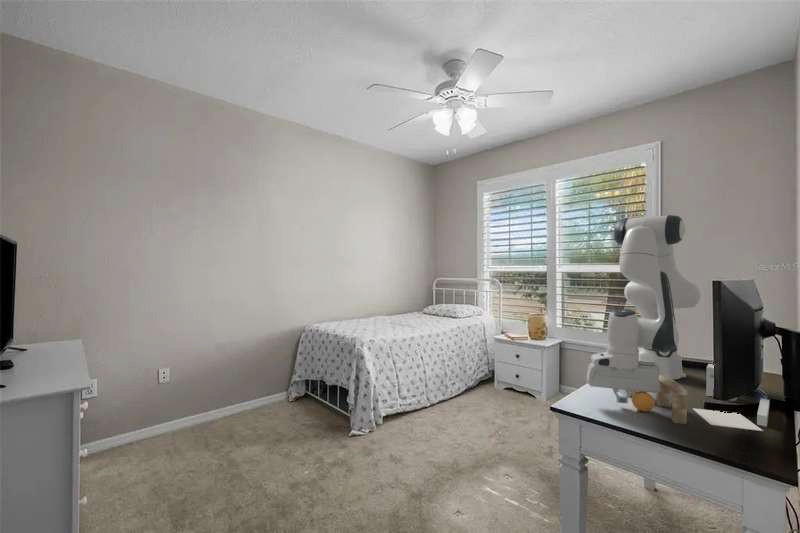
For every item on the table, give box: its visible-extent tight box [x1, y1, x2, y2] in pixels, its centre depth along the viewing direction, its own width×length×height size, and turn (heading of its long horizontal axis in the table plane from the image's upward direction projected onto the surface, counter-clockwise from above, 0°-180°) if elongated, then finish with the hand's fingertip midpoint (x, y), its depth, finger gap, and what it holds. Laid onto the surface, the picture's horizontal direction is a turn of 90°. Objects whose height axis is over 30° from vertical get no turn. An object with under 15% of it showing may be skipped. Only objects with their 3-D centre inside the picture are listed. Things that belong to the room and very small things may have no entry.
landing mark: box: [692, 407, 764, 432], centre depth 110 cm, size 12×12×1 cm
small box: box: [705, 363, 715, 397], centre depth 127 cm, size 8×6×10 cm
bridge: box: [655, 375, 688, 425], centre depth 114 cm, size 3×15×10 cm, turn 162°
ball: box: [631, 391, 656, 412], centre depth 116 cm, size 6×6×6 cm
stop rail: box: [756, 397, 770, 428], centre depth 112 cm, size 18×2×3 cm, turn 133°
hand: (621, 402), depth 118 cm, fingers closed
